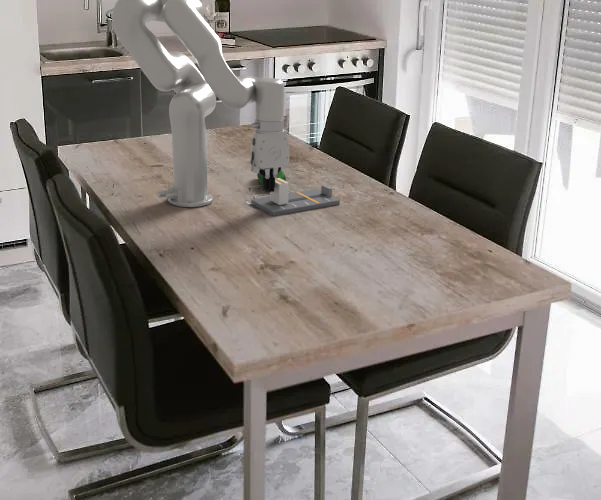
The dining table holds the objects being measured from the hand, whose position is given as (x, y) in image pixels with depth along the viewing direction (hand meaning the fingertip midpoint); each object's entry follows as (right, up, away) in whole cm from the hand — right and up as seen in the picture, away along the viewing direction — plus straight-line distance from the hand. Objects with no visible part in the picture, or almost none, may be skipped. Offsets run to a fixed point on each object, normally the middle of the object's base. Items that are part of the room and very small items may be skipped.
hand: (268, 190), depth 247 cm
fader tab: (+3, -3, +3) cm, 5 cm away
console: (+7, -3, +7) cm, 10 cm away
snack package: (0, +3, +23) cm, 23 cm away
